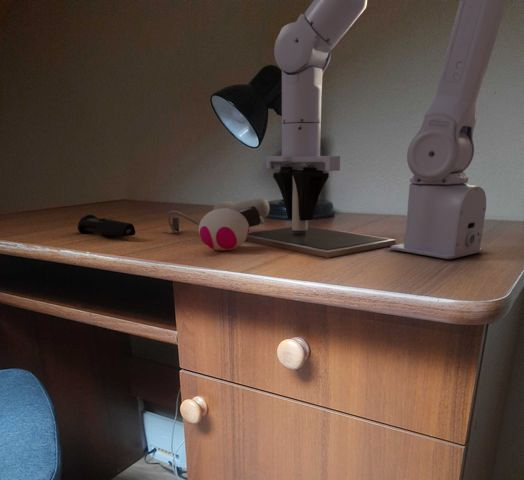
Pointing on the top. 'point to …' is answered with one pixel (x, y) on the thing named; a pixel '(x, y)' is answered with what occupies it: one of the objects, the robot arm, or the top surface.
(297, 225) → the beige cylinder
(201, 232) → the stress ball
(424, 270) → the top surface
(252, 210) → the white corded device
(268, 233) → the tablet
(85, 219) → the electric trimmer
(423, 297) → the top surface
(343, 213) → the top surface
